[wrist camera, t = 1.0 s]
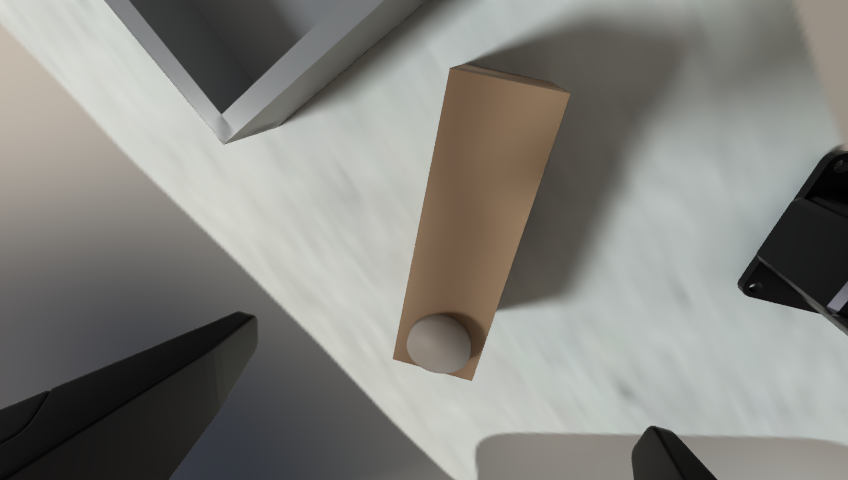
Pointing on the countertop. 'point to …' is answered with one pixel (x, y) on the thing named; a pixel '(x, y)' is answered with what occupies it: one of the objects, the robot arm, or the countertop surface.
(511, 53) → the countertop surface
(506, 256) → the strut
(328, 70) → the bin
